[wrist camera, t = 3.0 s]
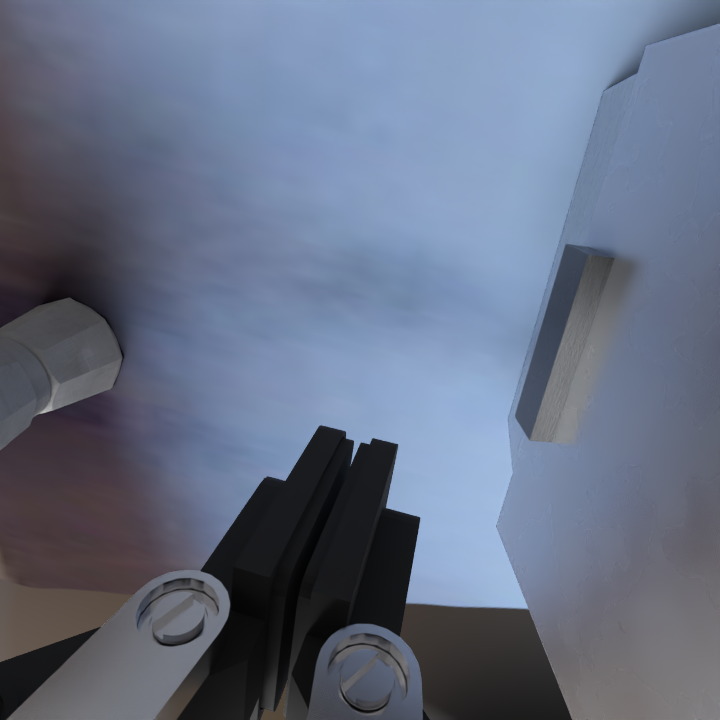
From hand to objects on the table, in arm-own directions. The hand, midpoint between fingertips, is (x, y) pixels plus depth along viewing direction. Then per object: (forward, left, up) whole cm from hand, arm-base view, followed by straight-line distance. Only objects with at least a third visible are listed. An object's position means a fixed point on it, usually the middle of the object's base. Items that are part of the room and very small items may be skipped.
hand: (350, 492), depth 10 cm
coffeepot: (+14, -31, -26) cm, 43 cm away
